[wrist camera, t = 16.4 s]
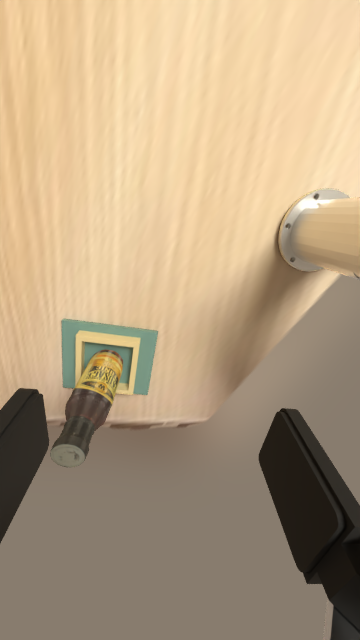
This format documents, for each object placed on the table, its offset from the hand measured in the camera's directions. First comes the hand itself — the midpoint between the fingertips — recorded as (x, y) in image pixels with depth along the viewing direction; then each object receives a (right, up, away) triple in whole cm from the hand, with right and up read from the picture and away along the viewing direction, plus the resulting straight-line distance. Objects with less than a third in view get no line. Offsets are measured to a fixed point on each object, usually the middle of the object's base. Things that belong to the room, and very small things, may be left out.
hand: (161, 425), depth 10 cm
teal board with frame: (-13, -3, +37) cm, 39 cm away
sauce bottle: (-13, -4, +36) cm, 38 cm away
